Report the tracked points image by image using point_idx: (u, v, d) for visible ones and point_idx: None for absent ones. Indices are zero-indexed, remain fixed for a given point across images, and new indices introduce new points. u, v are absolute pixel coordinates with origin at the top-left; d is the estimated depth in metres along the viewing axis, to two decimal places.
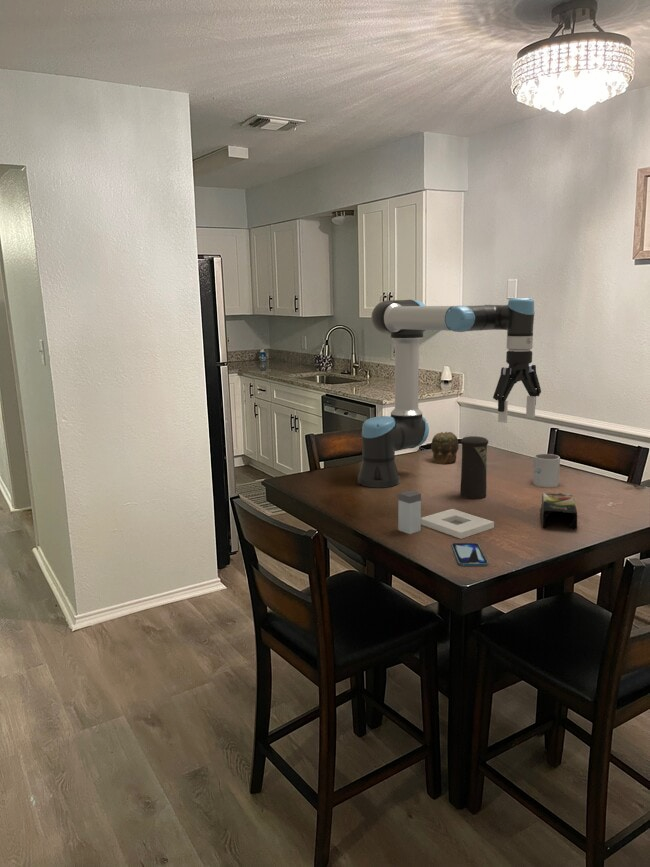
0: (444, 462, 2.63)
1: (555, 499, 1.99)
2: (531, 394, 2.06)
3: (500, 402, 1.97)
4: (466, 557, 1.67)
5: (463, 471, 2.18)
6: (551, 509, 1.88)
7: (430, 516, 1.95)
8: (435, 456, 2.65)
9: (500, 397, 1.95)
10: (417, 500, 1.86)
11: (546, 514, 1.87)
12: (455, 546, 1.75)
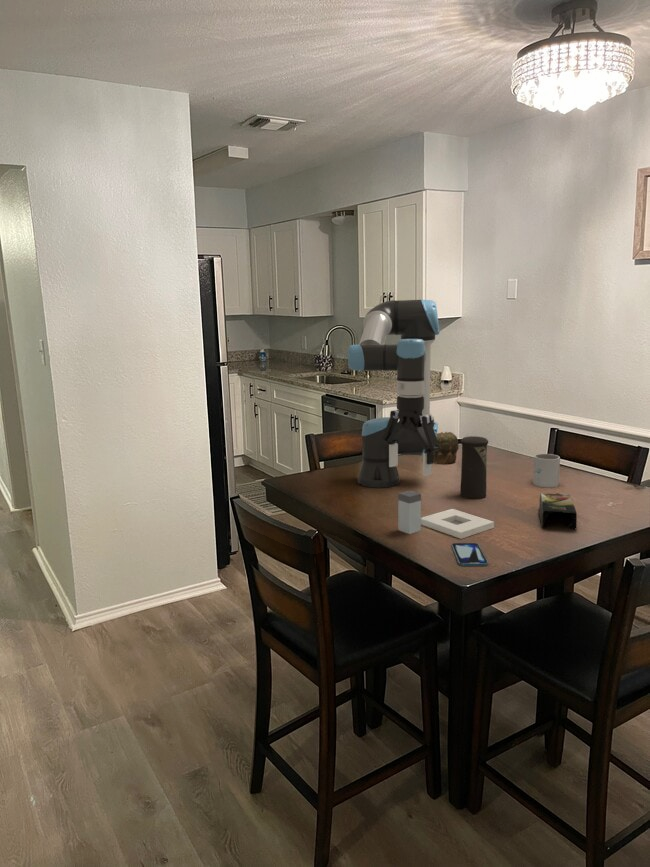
0: (444, 462, 2.63)
1: (553, 499, 1.99)
2: None
3: None
4: (467, 557, 1.67)
5: (463, 471, 2.18)
6: (550, 509, 1.88)
7: (430, 516, 1.95)
8: (435, 456, 2.65)
9: (383, 438, 1.91)
10: (417, 500, 1.86)
11: (545, 515, 1.87)
12: (454, 546, 1.75)
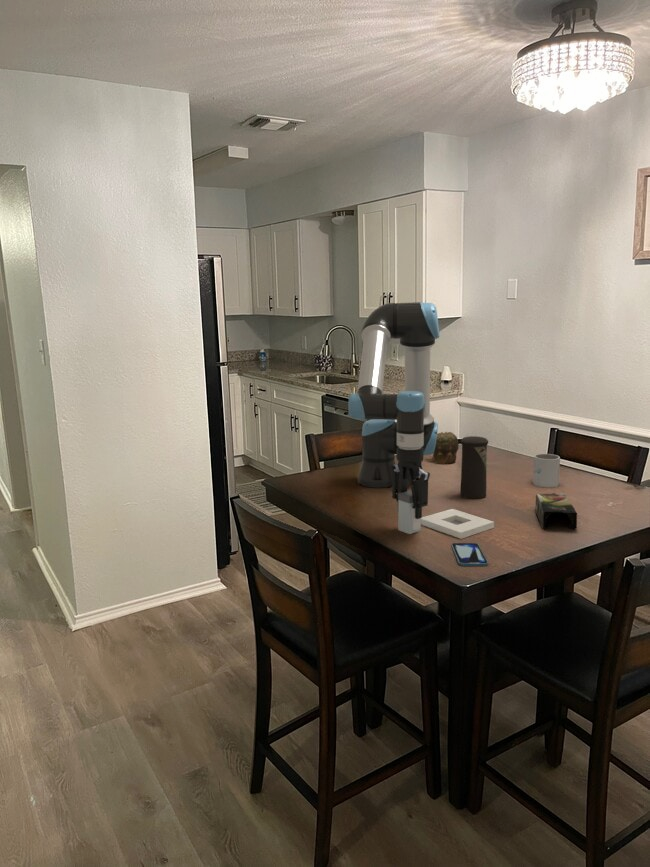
0: (444, 462, 2.63)
1: (550, 499, 1.99)
2: None
3: None
4: (467, 557, 1.67)
5: (463, 471, 2.18)
6: (551, 510, 1.87)
7: (430, 516, 1.95)
8: (435, 456, 2.65)
9: (393, 496, 1.91)
10: None
11: (546, 515, 1.86)
12: (454, 546, 1.75)
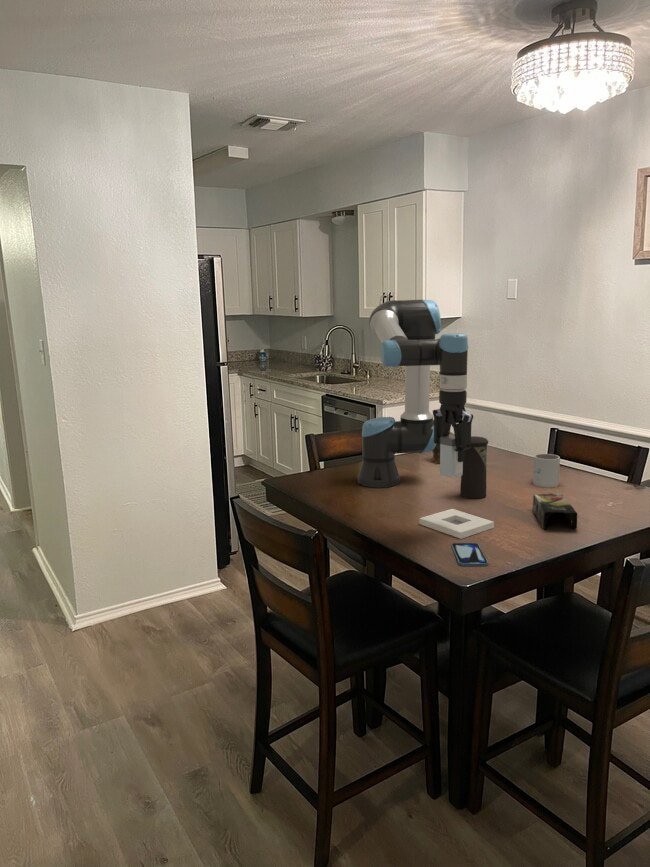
0: None
1: (548, 499, 1.99)
2: None
3: None
4: (467, 557, 1.67)
5: (463, 471, 2.18)
6: (551, 510, 1.87)
7: (430, 516, 1.95)
8: (435, 456, 2.65)
9: (434, 441, 1.90)
10: None
11: (547, 516, 1.86)
12: (454, 546, 1.75)
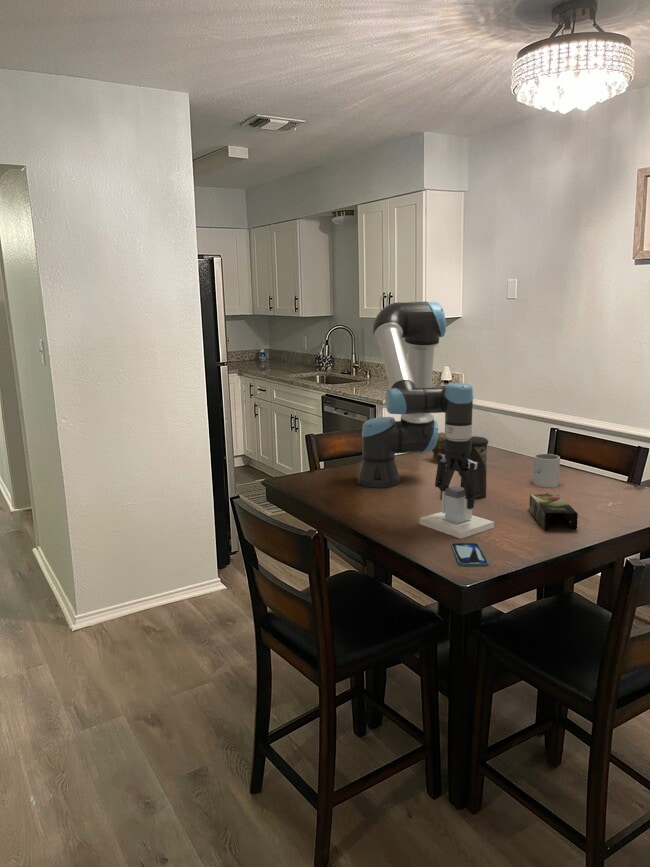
0: None
1: (546, 500, 1.99)
2: None
3: None
4: (467, 557, 1.67)
5: (463, 471, 2.18)
6: (552, 511, 1.87)
7: (430, 516, 1.95)
8: (435, 456, 2.65)
9: (435, 484, 1.94)
10: (464, 495, 1.89)
11: (548, 516, 1.85)
12: (454, 546, 1.75)
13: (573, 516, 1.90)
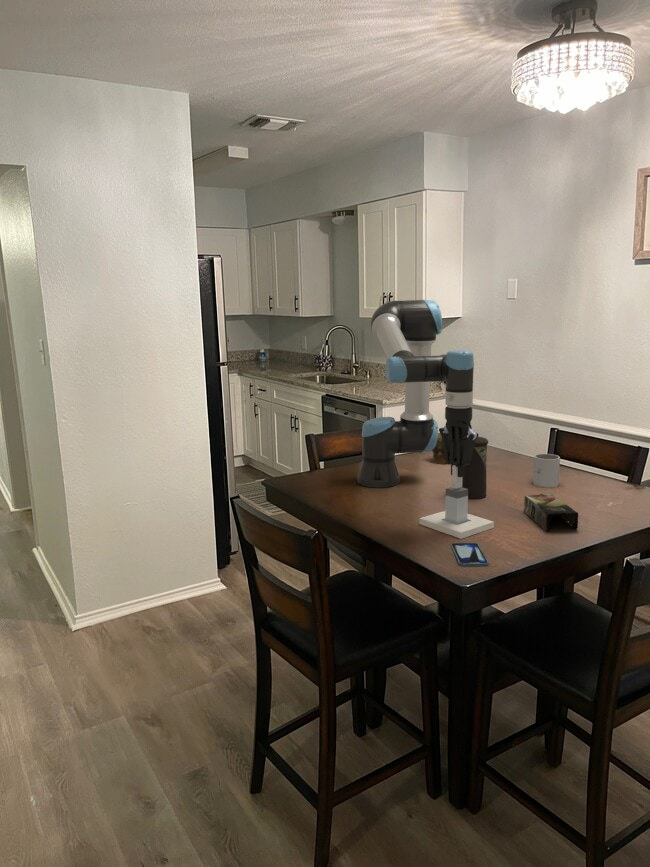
0: (444, 462, 2.63)
1: (542, 500, 1.98)
2: None
3: None
4: (467, 557, 1.67)
5: None
6: (553, 511, 1.86)
7: (430, 516, 1.95)
8: (435, 456, 2.65)
9: (446, 459, 1.90)
10: (464, 495, 1.89)
11: (549, 517, 1.85)
12: (454, 546, 1.75)
13: (572, 516, 1.90)
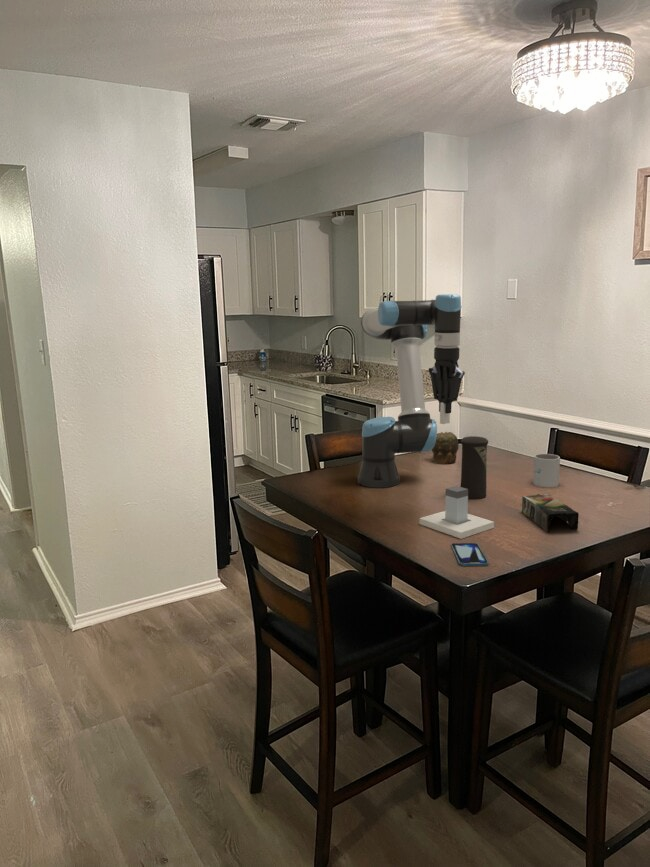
0: (444, 462, 2.63)
1: (540, 501, 1.98)
2: None
3: None
4: (467, 557, 1.67)
5: (463, 471, 2.18)
6: (553, 512, 1.85)
7: (430, 516, 1.95)
8: (435, 456, 2.65)
9: (434, 397, 2.04)
10: (464, 495, 1.89)
11: (550, 518, 1.84)
12: (454, 546, 1.75)
13: (571, 516, 1.90)
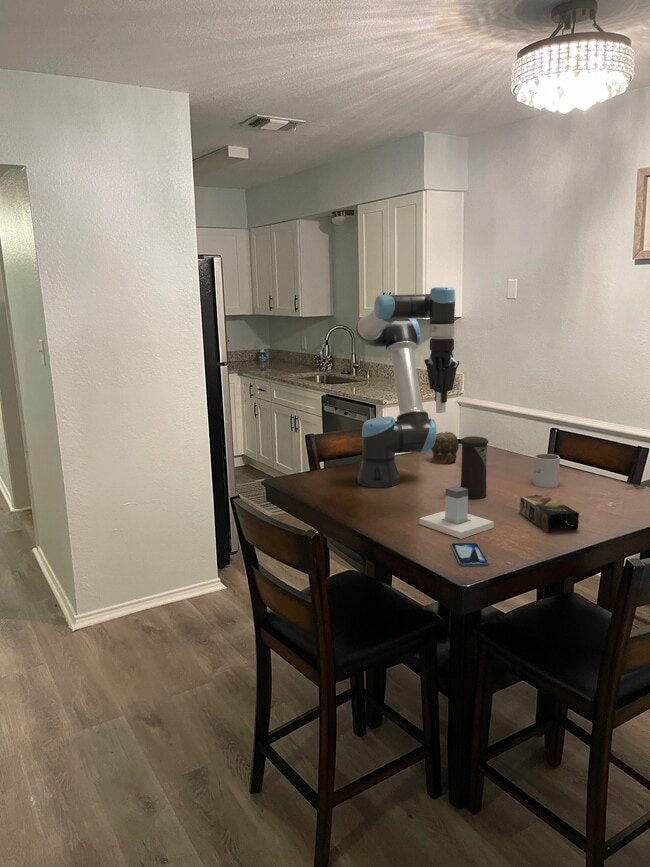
0: (444, 462, 2.63)
1: (538, 501, 1.97)
2: None
3: None
4: (467, 557, 1.67)
5: (463, 471, 2.18)
6: (554, 512, 1.85)
7: (430, 516, 1.95)
8: (435, 456, 2.65)
9: (430, 387, 2.10)
10: (464, 495, 1.89)
11: (551, 518, 1.84)
12: (454, 546, 1.75)
13: (571, 516, 1.90)
